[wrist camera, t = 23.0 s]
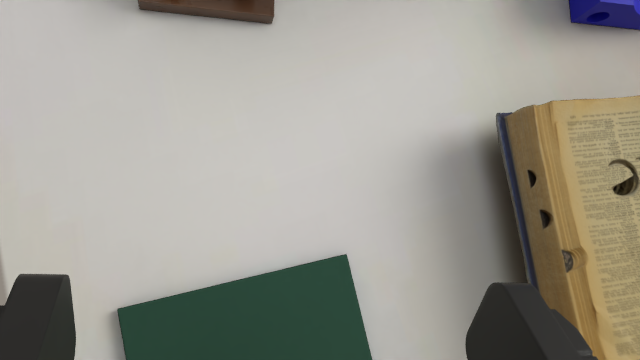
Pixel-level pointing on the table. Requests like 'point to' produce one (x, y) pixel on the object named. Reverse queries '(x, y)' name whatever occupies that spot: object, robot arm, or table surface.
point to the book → (580, 213)
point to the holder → (216, 8)
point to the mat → (254, 319)
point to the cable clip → (606, 12)
